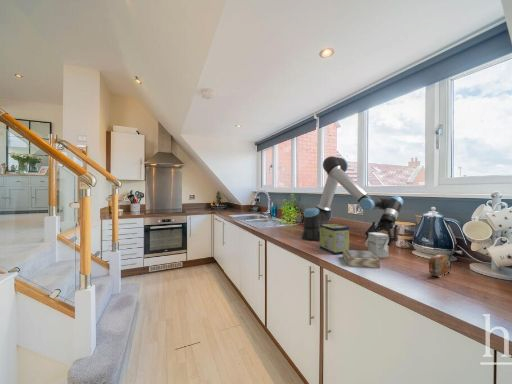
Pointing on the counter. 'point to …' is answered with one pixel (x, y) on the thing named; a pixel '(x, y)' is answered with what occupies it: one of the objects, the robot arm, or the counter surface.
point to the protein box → (334, 238)
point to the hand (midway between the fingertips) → (375, 247)
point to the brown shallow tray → (361, 258)
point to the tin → (439, 265)
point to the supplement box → (377, 244)
